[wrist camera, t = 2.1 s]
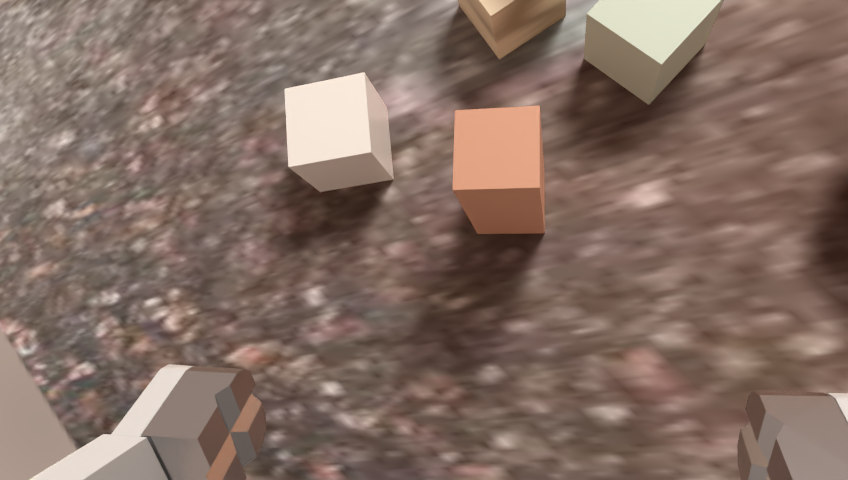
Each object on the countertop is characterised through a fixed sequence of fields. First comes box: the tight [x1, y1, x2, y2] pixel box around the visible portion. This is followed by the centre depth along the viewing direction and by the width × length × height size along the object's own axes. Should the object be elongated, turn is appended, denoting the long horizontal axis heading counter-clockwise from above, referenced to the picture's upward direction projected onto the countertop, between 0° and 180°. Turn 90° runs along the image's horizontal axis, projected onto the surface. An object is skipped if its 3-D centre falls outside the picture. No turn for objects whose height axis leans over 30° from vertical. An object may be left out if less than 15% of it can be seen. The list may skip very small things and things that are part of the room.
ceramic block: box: [285, 72, 394, 192], centre depth 38 cm, size 5×5×5 cm
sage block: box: [584, 0, 724, 105], centre depth 35 cm, size 5×5×5 cm
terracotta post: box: [453, 106, 545, 234], centre depth 33 cm, size 4×4×9 cm
